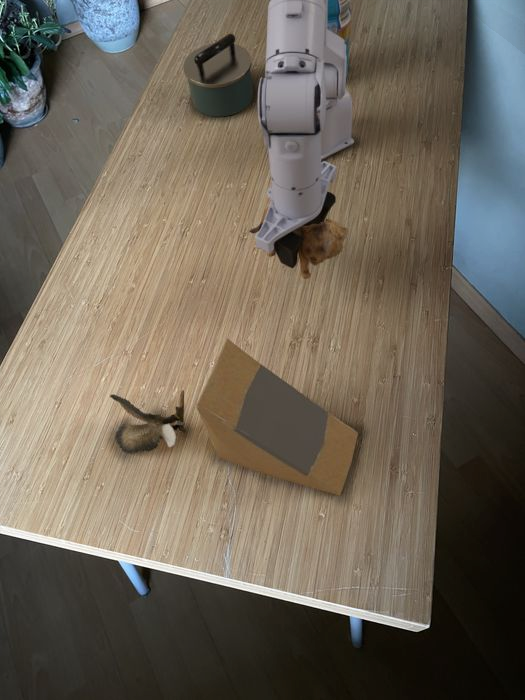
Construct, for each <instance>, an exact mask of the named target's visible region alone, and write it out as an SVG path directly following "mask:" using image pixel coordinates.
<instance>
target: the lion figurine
mask: <svg viewBox="0 0 525 700" xmlns="http://www.w3.org/2000/svg"><path fill="white" fill-rule="evenodd" d="M268 208H269V205H268V206H266V207H265V208H264V210H263V213H262V217H261V219H260V222H259V224H258V225H257V226H256V227H254V228H252V229H250V230H249V233H251V234H257V233H258V232H259V226H260V224H261V223H262V222H263V221H264V219H265V216H266V214H267V211H268ZM293 232H294V233H296V234H298V235H300V236H302V237H304V240H303V241H302V242H301V244H300V246H299V250H298V258H299V264H300V265H299V266H300V276H301V278H302V279H304V280H309V279H310V277H311V276H312V273H311V272H310V269H309V264H310V265H313V266H318V265H320V264H321V263H324V261H326V260H329V259H333V258H334V257H337V256H338V255H340V254H341V252H342V251H343V250H344V248H345V247H344V240H345V239H346V238H348V232H349V230H348V228H347V227H343V226H342V227H341V226H340V225H339V222H338V221H335V220H332V219H331V218H325V221H324V222H321V223H320V224H311V225H309V226H303V225H302V226H300V227H299V228H297V229H295V230H293ZM266 255H267V256H268V257H271V258H272V257H274V256H276V255H277V254H276V252H275V250H273V251H272V252H271V253H270V254H269V253H267V252H266Z"/></svg>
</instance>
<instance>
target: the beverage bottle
mask: <svg viewBox="0 0 525 700" xmlns="http://www.w3.org/2000/svg"><path fill="white" fill-rule="evenodd" d="M351 3H352V0H328V9H327V29H328V30H330V31H331V32H333V33H335V34H336V35H338V36H339V37H341V38H342V39H344V40H345V44H346V56H347V66H346V77H347V76H348V73H349V53H350V51H349V50H350V32H351V21H352V10H351V7H350V5H351Z"/></svg>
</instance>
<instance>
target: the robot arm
mask: <svg viewBox="0 0 525 700" xmlns="http://www.w3.org/2000/svg"><path fill="white" fill-rule="evenodd" d="M327 9H328V0H270V1H269V3H268V4H267V26H266V47H265V49H266V50H265V68H264V70H265V71H264V77H263V76H261V77H260V79H259V82H258V89H257V115H258V116H257V117H258V122H259V127H260V133H261V134H262V136H263V143H264V147H265V148H267V151H268V152H267V153H268V161H269V162H268V163H269V170H270V182H271V187H269V188H268V189H267V191H266V198H268V199H270V200H271V201H270V202H269V205H268V206H269V208H268V211H267V214H266V216H265V219H264V221H263V222H262V223H261V224H260V223H259V224H260V226H259V225H258V226H259V231H258V232H256V234H255V236H254V240H255V247H256V248H257V249H259V250H260V251H262V252H263V253H266V254H267V253H269V254H270V253H271V252H272V251H273V250H275V252H276V254H275V255H276V256H277V258H278V260H279V262H280V263H281V264H283V265H284V266H286V267H288V268H290V269H294V267H296V266H297V264H298V258H299V255H298V250H299V246H300V244H301V242H302V241H303V240H304V237H302V236H300V235H298V234H296V233H294V232H293V230H295V229H297V228H299V227H300V226H302V225H303V226H309V225H311V224H320V223H321V222H325V220H326V219H327V216H328V214H329V213H330V211H331V209H332V208H333V206H334V205H335V204H336V202H337V199H336V198H337V197H336V195H335V194H334V193H332V192H330V191H329V187H330V184H331V183H334V182H335V180H337V178H338V177H337V175H338V166H337V165H334V164H332V163H329V162H327V161H326V160H324V159H326V158H328V157H330V156H332V155H334V154H336V153H338V152H340V151H342V150H344V149H346V148H347V147H349V146H352V145H353V144H354V143H355V139H353V137H352V131H353V113H354V110H353V109H354V106H353V105H354V104H353V101H352V97H351V95H350V92H349V90H348V88H347V85H346V82H347V76H346V66H347V56H346V44H345V40H344V39H342V38H341V37H339V36H338V35H336V34H335V33H333V32H331V31H330V30H328V29H327ZM322 160H323V161H322Z"/></svg>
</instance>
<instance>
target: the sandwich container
mask: <svg viewBox="0 0 525 700" xmlns="http://www.w3.org/2000/svg"><path fill="white" fill-rule="evenodd" d="M195 408H196V410H197V413H198V415H199V417H200V419H201V421H202V423H203V425H204V428H205V430H206V432H207V435H208V437H209V439H210V442H211V443H212V445H213V448H214V450H215V452H216V454H217V456H218V458H219V459H221V460H224V461H227V462H229V463H233V464H236V465H238V466H241V467H244V468H247V469H249V470H252V471H255V472H258V473H261V474H264V475H267V476H270V477H273V478H277V479H280V480H284V481H288V482H291V483H295V484H298V485H301V486H304V487H308V488H312V489H315V490H319V491H323V492H326V493H329V494H332V495H335V496H341V495H342V492H343V490H344V487H345V483H346V480H347V477H348V474H349V471H350V468H351V465H352V462H353V457H354V452H355V449H356V444H357V440H358V436H359V432H358V431H356V430H355V429H354V428H352V427H350V426H349V425H347V424H346V423H345V422H343V421H342V420H341V419H339V418H338V417H336V416H334V415H333V414H332V413H330V412H329V411H327V410H326V409H325V408H323V407H321V406H320V405H319V404H317V403H316V402H314V401H313V400H312V399H310V398H309V397H307V396H306V395H305V394H304V393H302V392H301V391H299V390H298V389H297V388H295V387H294V386H292V385H291V384H290V383H289V382H286V381H285V380H284V379H282V378H281V377H280V376H278V375H277V374H275V373H274V372H273V371H272V370H270V369H269V368H267V367H266V366H264V365H263V364H261V363H260V362H259V361H258V360H256V358H253V357H252V356H251V355H249V354H248V353H247V352H246V351H245V350H243V349H242V348H241V347H240V346H238V345H237V344H235V343H234V342H233V341H232V340H230V339H229V338H227V337H226V338H225V340H224V343H223V345H222V347H221V349H220V351H219V354H218V356H217V359H216V361H215V362H214V365H213V367H212V370H211V372H210V374H209V376H208V379H207V380H206V382H205V385H204V387H203V389H202V391H201V394H200V395H199V397H198V399H197V402H196V406H195Z"/></svg>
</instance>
